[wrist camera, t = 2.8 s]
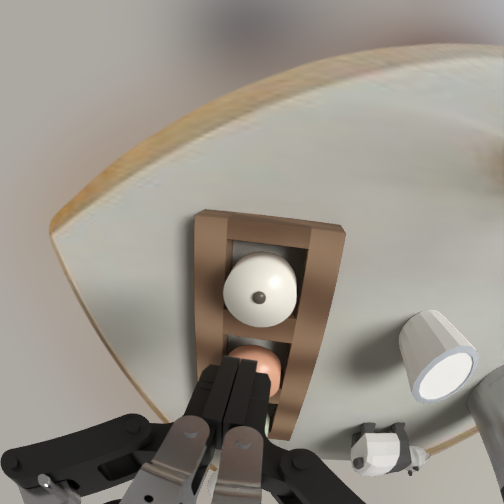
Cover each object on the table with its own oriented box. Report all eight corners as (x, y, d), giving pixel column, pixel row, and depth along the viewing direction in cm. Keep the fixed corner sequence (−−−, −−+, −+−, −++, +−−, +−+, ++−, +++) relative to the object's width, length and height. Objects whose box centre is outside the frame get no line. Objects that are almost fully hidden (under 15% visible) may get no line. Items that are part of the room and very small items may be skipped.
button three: (277, 387, 24) (275, 405, 22) (225, 379, 25) (220, 396, 22) (285, 349, 22) (283, 367, 20) (227, 340, 23) (220, 358, 21)
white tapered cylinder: (380, 337, 24) (398, 387, 17) (432, 291, 22) (466, 331, 15) (411, 367, 25) (429, 413, 18) (458, 328, 22) (486, 368, 16)
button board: (290, 425, 30) (289, 440, 28) (206, 412, 31) (201, 426, 29) (340, 225, 21) (346, 233, 19) (205, 209, 22) (194, 215, 20)
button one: (291, 315, 21) (290, 333, 19) (228, 306, 22) (221, 323, 20) (301, 256, 20) (301, 268, 17) (231, 247, 20) (224, 258, 18)
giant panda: (343, 438, 30) (346, 485, 23) (358, 420, 28) (364, 470, 21) (412, 438, 29) (422, 478, 22) (429, 420, 28) (442, 462, 20)
